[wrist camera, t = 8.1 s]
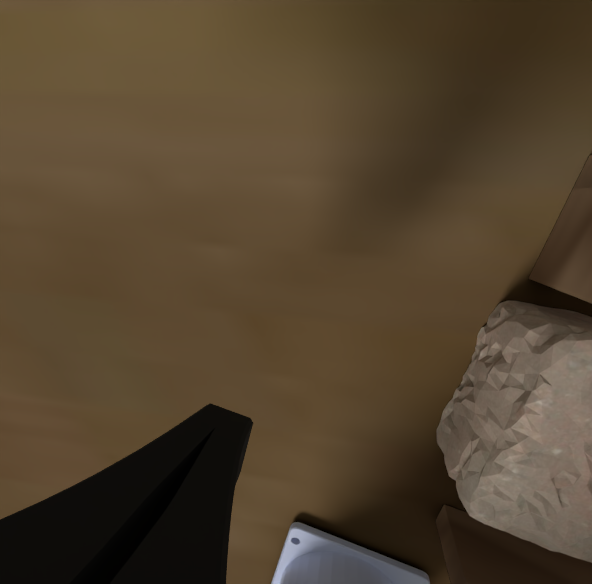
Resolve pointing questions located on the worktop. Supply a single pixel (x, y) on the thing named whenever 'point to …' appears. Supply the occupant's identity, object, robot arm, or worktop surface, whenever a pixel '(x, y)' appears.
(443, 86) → the worktop surface
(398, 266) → the worktop surface
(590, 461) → the brick
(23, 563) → the robot arm
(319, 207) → the worktop surface
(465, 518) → the tunnel
